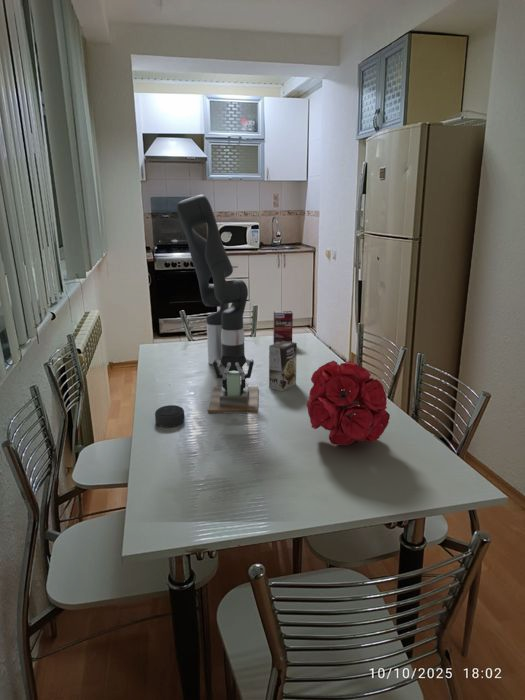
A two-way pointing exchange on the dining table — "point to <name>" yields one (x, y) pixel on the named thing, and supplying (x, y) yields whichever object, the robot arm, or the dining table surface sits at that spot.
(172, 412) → the smart speaker
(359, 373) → the bouquet
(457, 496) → the dining table surface
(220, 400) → the keyed holder
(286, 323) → the supplement box
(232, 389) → the keyed block
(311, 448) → the dining table surface
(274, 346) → the coffee box
